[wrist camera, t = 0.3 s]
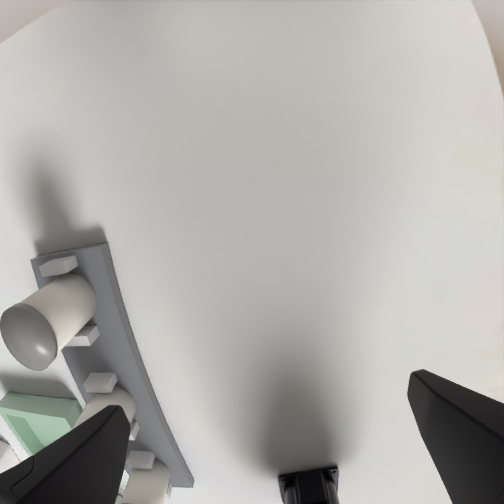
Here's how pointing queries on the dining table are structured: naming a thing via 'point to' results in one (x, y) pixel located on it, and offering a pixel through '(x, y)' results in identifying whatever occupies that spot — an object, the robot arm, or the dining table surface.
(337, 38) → the dining table surface
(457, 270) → the dining table surface
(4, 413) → the tray
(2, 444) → the medicine bottle
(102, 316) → the block
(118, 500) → the supplement box
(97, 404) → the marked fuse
